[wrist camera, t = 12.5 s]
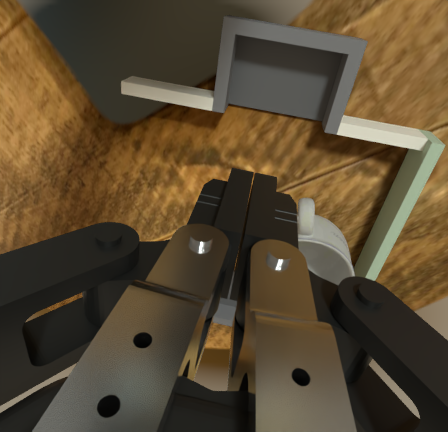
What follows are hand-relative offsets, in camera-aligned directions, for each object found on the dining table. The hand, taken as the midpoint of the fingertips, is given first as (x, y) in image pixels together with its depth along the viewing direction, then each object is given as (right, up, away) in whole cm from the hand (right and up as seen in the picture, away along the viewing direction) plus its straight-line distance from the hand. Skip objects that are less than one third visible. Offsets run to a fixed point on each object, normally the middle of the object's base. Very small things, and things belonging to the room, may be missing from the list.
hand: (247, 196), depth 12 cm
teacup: (+9, -2, +32) cm, 33 cm away
